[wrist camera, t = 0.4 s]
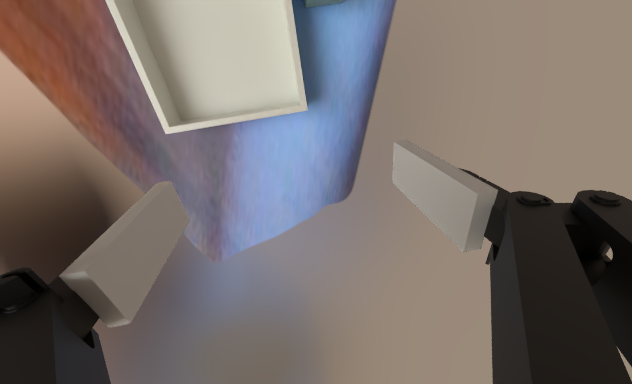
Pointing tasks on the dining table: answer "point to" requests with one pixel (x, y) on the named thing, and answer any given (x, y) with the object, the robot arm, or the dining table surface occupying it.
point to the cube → (320, 2)
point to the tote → (213, 59)
